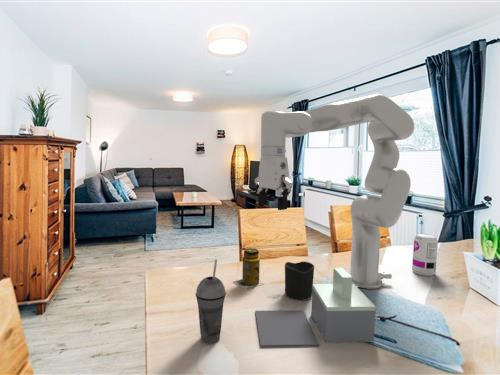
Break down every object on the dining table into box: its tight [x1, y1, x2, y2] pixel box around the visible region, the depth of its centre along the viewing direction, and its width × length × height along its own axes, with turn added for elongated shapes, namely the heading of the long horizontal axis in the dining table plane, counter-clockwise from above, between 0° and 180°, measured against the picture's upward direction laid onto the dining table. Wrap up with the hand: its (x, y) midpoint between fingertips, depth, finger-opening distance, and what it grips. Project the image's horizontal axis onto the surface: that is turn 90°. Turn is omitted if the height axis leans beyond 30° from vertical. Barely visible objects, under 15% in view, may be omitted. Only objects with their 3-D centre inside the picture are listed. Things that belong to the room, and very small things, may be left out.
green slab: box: [312, 267, 376, 312], centre depth 84 cm, size 12×14×8 cm
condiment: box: [232, 247, 265, 290], centre depth 113 cm, size 7×8×12 cm
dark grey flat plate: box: [255, 309, 320, 348], centre depth 84 cm, size 14×17×1 cm
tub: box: [310, 288, 376, 343], centre depth 85 cm, size 12×14×8 cm
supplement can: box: [411, 233, 439, 277], centre depth 127 cm, size 8×8×15 cm
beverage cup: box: [195, 259, 226, 345], centre depth 78 cm, size 7×7×20 cm
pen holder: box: [284, 261, 315, 301], centre depth 104 cm, size 9×9×10 cm
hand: (272, 207), depth 100 cm, fingers open, 9 cm apart
